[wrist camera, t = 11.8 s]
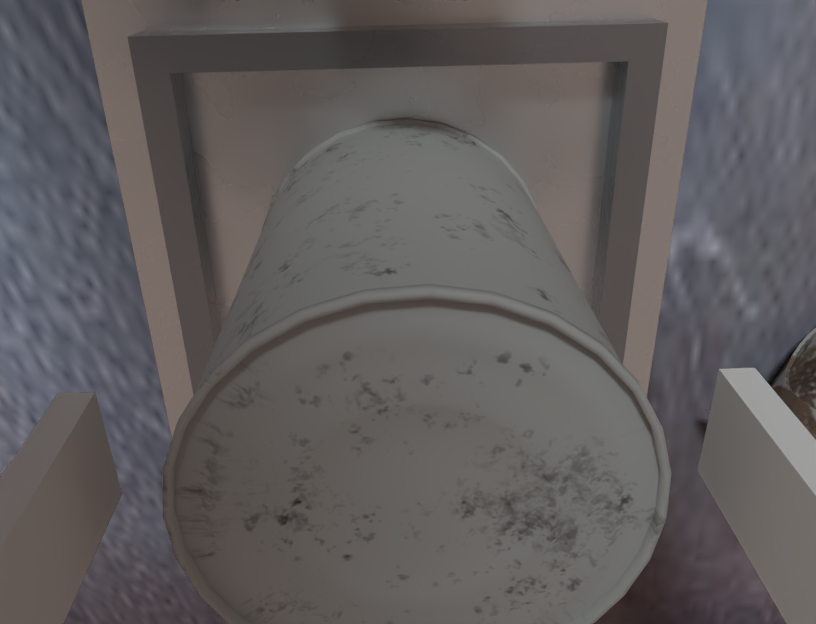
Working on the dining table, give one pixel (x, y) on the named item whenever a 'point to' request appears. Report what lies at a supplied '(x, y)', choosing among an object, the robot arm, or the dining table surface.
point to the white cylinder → (412, 407)
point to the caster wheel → (800, 383)
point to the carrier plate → (391, 100)
